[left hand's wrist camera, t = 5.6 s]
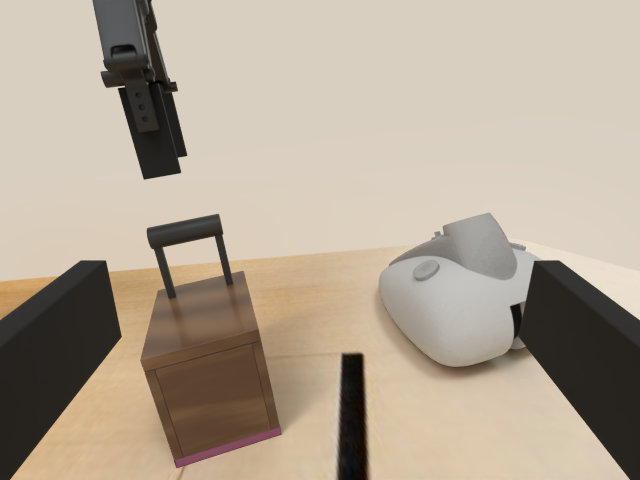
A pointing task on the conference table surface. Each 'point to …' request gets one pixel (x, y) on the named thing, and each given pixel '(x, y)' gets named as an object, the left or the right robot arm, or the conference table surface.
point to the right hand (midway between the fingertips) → (169, 165)
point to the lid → (196, 303)
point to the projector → (460, 292)
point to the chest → (215, 403)
